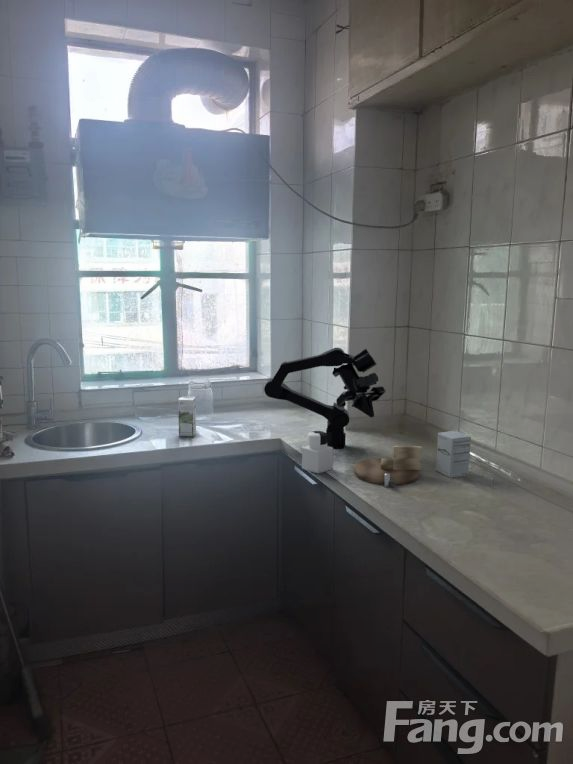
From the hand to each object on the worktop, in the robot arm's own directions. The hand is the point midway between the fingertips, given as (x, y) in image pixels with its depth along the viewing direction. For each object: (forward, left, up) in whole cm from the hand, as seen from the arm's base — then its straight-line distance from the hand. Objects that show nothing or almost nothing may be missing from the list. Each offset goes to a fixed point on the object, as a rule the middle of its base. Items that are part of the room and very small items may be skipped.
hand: (372, 416), depth 205 cm
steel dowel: (+5, -30, -14) cm, 33 cm away
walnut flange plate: (+5, -19, -14) cm, 23 cm away
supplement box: (+25, -14, -14) cm, 32 cm away
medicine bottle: (-17, -17, -14) cm, 28 cm away
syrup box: (-69, +14, -14) cm, 72 cm away
